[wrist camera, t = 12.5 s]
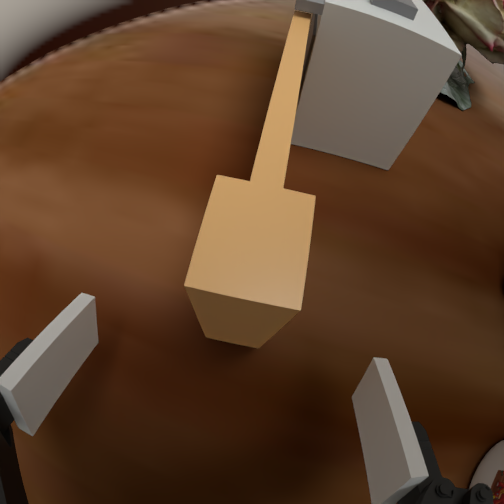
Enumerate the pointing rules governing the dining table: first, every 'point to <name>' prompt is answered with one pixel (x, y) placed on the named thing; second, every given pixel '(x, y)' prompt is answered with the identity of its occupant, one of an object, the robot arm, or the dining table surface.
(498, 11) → the rose bouquet
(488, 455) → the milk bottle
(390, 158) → the box
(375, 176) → the dining table surface
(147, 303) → the dining table surface
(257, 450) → the dining table surface
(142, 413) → the dining table surface
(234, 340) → the tan long-handled part
